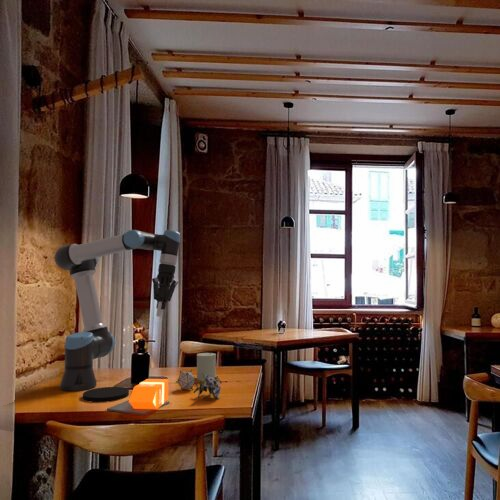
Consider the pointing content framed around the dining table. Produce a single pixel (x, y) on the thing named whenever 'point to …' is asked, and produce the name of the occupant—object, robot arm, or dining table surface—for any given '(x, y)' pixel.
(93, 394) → the wireless charger
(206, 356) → the can
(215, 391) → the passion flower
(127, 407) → the mat
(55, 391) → the dining table surface
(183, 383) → the game die
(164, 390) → the orange juice
